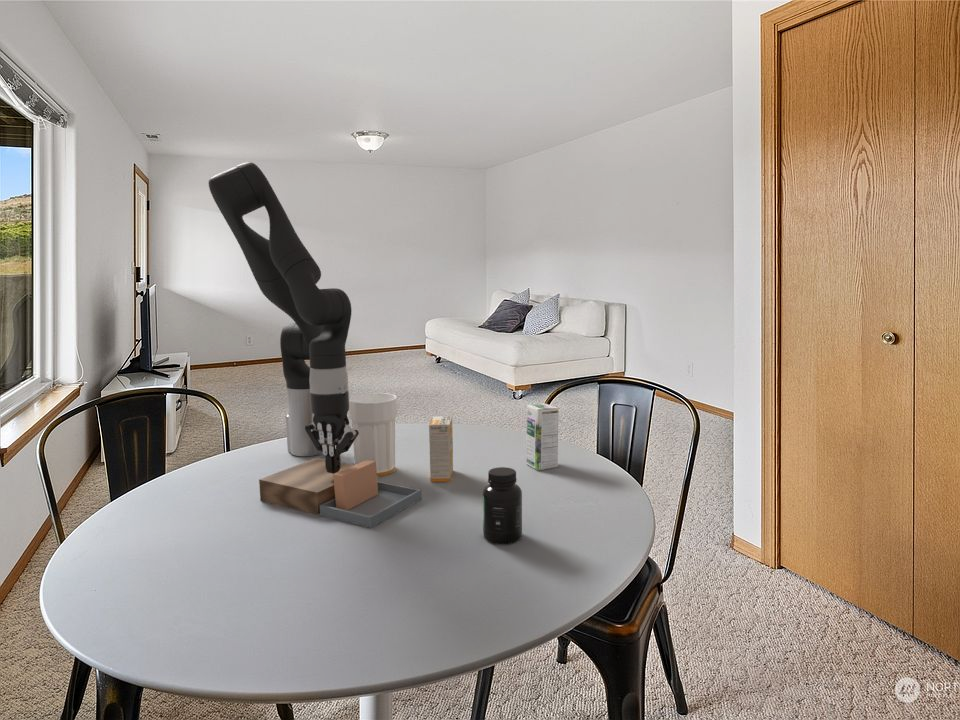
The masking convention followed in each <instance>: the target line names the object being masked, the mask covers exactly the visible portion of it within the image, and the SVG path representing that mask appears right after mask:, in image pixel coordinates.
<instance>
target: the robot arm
mask: <svg viewBox="0 0 960 720" xmlns="http://www.w3.org/2000/svg"><path fill="white" fill-rule="evenodd" d="M208 189H209V191H210V194H211V196H212V199H213V200H214V203H215V204H216V206H217V208H218V209H219V211H220V213H221V214H222V217H223V218H224V220H225V222H226V224H227V226H228V228H229V229H230V231H231V233H232V235H233V236H234V237H235V239H236V242H237V243H238V245H239V247H240V249H241V251H242V254H243V255H244V258H245V260H246V262H247V264H248V266H249V269H250V271H251V273H252V275H253V277H254V280H255V281H256V284H257V285H258V288H259V290H260V291H261V293H262V295H263V296H264V297H265V298H266V299H267V300H269V302H270V303H272V304H273V305H275V306H276V307H277V308H278V309H279V310H280V311H282V312H283V313H285V314H286V315H287V316H289V318H291V320H292V321H293V322H291V323H287V324H285V325H284V326H283V327H282V330H281V333H280V340H279V341H280V342H279V343H280V344H279V346H280V347H279V348H280V356H281V362H282V363H281V364H282V371H283V372H282V373H283V377H284V380H285V383H286V384H285V385H286V395H287V397H286V399H287V415H286V416H285V429H286V445H287V452H288V453H290V454H291V455H293V456H297V457H310V456H318V455H321V454H323V455H324V460H325V467H326V470H327V472H328V473H332V474H334V473H337V472H339V470H340V468H341V465H340V463H341V455H342V454H343V453H346V452H348V451H349V449H350V448H351V447H352V445H353V442H354V440H355V439H356V437H357V436H358V434H359V432H358V430H353V429H352V426H350V421H349V420H350V419H349V416H348V410H349V397H350V395H349V393H350V392H349V390H350V389H349V378H348V370H347V358H346V356H347V355H346V344H347V339H348V335H349V330H350V325H351V319H352V303H351V300H350V298H349V296H348V294H347V293H346V292H345V291H344V290H342V289H340V288H337V287H336V288H335V287H333V288H332V287H331V288H319V287H318V286H317V283H318V282H320V280H321V278H322V271H321V268H320V266H319V265H318V263H317V262H316V261H315V259H314V258H313V256H312V255H311V254H310V252H309V250H308V249H307V248H306V246H305V245H304V244H303V242H302V241H301V239H300V237H299V236H298V234H297V232H296V230H295V228H294V226H293V225H292V222H291V221H290V219H289V216H288V214H287V213H286V210H285V209H284V207H283V206H282V203H281V201H280V200H279V198H278V197H277V194H276V193H275V191H274V189H273V187H272V185H271V183H270V181H269V180H268V178H267V177H266V176H265V173H264V172H263V171H262V170H261V168H260V167H259V166H258V165H257V164H256V163H254V162H251V161H247V162H244V163H241V164H238V165H236V166H233V167H231V168H229V169H226V170H224V171H222V172H219V173H218V174H215V175H213V176H212V177H210V178H209V180H208ZM263 207H265V209H266V212H267V215H268V219H269V236H268V238H269V239H267V238H266V237H264V236H262V235H261V234H260V233H258V232H256V231H255V230H254V229H252V228H251V227H250V226H249V225H248V224H247V223H246V222H245V220H244V217H243V216H245V215H247V214H250V213H252V212H255V211H256V210H258V209H261V208H263ZM307 360H308V361H309V365H308V364H307V363H306V361H307Z"/></svg>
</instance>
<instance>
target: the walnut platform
mask: <svg viewBox="0 0 960 720" xmlns="http://www.w3.org/2000/svg"><path fill="white" fill-rule="evenodd" d="M340 465H341V468H340V470H339V472H340V471H343V470H345V469H347V468H350V467H352V466H354V465H355V464H354V465H353V464H348V463H342V462H340ZM337 473H338V472H337ZM334 474H336V473H334ZM258 484H259V494H260V495H259V496H260V497H259V498H260V499H259V500H260V502H265V503H269V504H273V505H277V506H280V507H281V506H282V507H286V508H289V509H294V510H297V511H300V512H301V511H302V512H307V513H309V514H313V515H317V516H319V515H320V505H322V504H324V503H326V502H328V501H330V500H332V499H334V498H335V489H334V479H333V474H332V473H328V472H327V470H326V467H325V459H321V458H318V457H315V458H312V459H309V460H307V461H304V462H302V463H301V462H300V464H296V465H294V466H291V467H288V468H285V469H283V470H280V471H278V472H275V473H273V474H270V475H267V476H264V477H262V478H259V479H258Z"/></svg>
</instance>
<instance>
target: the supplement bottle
mask: <svg viewBox="0 0 960 720" xmlns="http://www.w3.org/2000/svg"><path fill="white" fill-rule="evenodd" d="M487 474H488V477H487V478H488V479H487V483H488V484H487V485H486V486H484V488H483V491H482V527H483V528H482V529H483V530H482V531H483V533H482V534H483V537H484V540H486V541H487V542H488V543H489V542H490V543H492V544H495V545H511V544H514V543H517V542H518V541H520V539H521V538H522V536H523V491H522V489H521V487H520V486H519V485H518V484H517V481H518V480H517V479H518V478H517V471H516V470H515V469H514V468H511V467H504V466H503V467H502V466H501V467H500V466H499V467H493V468H490V469H489V470H488V473H487Z"/></svg>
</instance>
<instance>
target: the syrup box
mask: <svg viewBox="0 0 960 720" xmlns="http://www.w3.org/2000/svg"><path fill="white" fill-rule="evenodd" d="M559 410H560V409H559V407H555V406H552V405H550V404H548V403H534V404H533V403H532V404H528V405H526V441H525V443H526V446H525V447H526V450H525V453H526V454H525V455H526V456H525V460H526V462H525V465H526V466H529V467H531V468H533V469H534V470H536V471H543V470H549V469H550V470H551V469H554V468H558V463H559V462H558V461H559V458H558V457H559Z"/></svg>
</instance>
